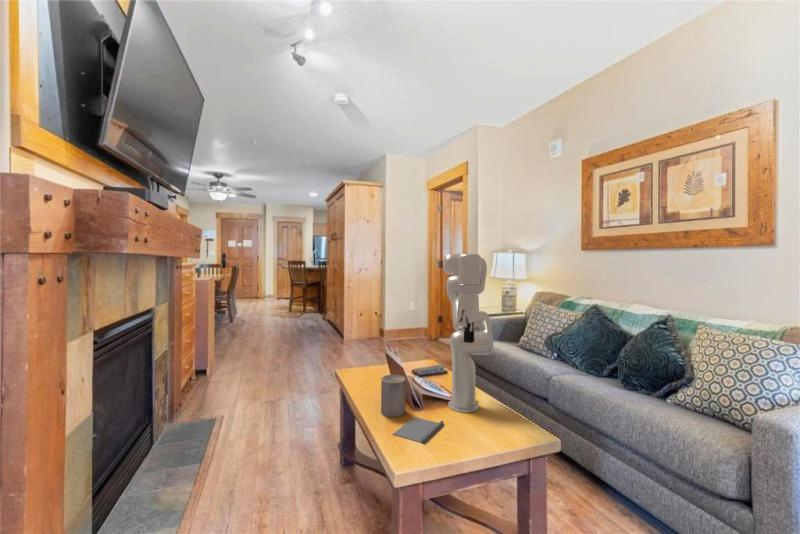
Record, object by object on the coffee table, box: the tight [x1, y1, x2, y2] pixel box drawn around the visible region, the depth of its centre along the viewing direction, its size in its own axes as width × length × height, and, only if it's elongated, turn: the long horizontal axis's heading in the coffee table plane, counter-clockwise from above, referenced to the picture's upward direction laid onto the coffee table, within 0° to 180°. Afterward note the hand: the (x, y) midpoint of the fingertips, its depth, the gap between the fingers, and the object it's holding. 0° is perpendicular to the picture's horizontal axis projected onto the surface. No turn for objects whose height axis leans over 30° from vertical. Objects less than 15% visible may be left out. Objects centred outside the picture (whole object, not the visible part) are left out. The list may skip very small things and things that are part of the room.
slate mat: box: [392, 416, 445, 445], centre depth 126 cm, size 16×12×2 cm
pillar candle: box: [380, 374, 406, 418], centre depth 141 cm, size 10×10×15 cm
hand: (469, 342), depth 123 cm, fingers closed
